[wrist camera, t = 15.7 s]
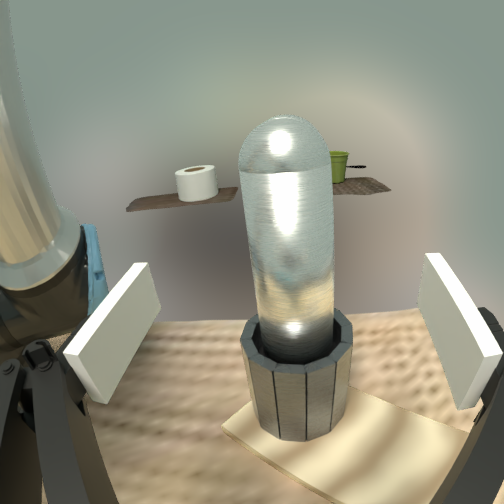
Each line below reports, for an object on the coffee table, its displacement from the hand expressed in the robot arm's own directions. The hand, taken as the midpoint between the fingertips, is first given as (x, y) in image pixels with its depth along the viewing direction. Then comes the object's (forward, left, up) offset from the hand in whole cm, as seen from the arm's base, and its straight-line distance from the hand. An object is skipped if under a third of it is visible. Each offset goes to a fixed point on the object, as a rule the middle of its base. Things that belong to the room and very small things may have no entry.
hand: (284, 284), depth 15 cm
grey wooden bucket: (-6, +8, -22) cm, 25 cm away
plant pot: (-54, +99, -24) cm, 115 cm away
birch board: (+4, +7, -24) cm, 25 cm away
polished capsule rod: (-7, +9, -14) cm, 18 cm away
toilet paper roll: (-93, +63, -24) cm, 115 cm away
